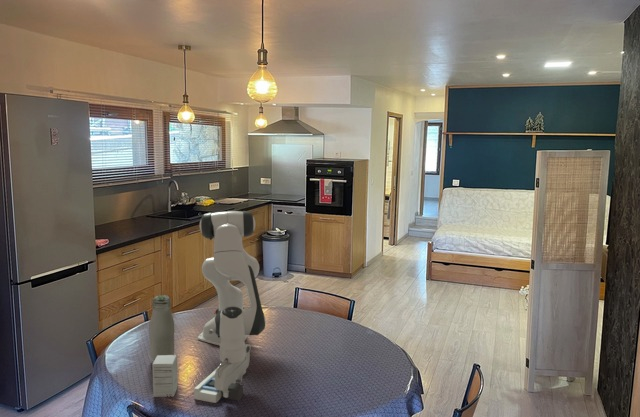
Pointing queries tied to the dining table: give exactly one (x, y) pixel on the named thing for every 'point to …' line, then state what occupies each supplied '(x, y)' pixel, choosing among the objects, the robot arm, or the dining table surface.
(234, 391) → the banded gray post
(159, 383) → the supplement box
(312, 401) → the dining table surface
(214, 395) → the white angular block assembly
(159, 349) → the glass bottle
